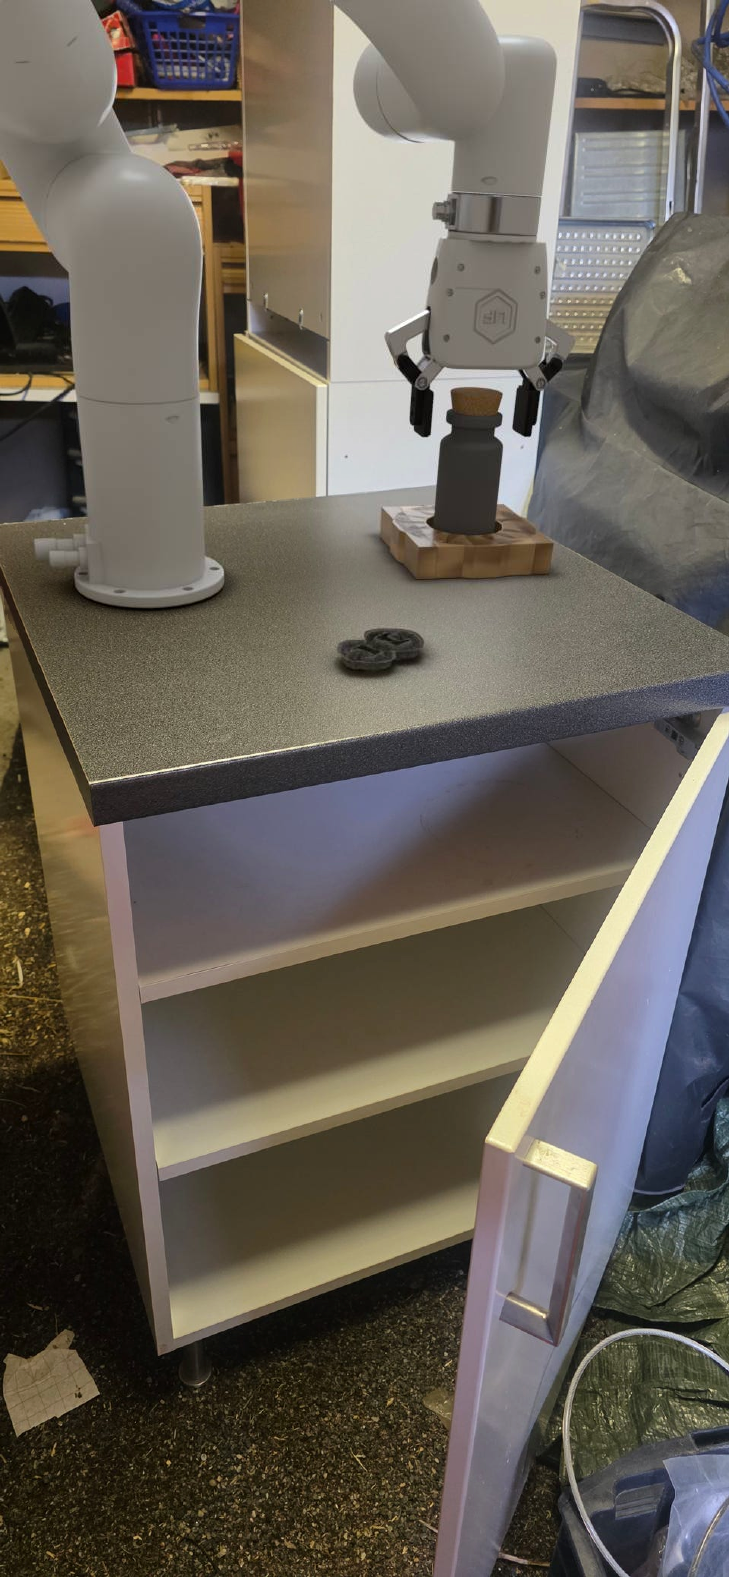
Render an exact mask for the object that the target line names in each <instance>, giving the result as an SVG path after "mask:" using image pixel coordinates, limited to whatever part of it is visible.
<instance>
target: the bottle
mask: <svg viewBox="0 0 729 1577" xmlns="http://www.w3.org/2000/svg"><path fill="white" fill-rule="evenodd" d="M503 396H504V393H503V392H502V391H500V390H498V389H493V388H489V387H479V386H478V387H477V386H459V387H454V388H452V389H451V390H450V401H451V408H449V409H447V411H446V413H445V414H446V415H445V422H446V423H447V424H448V425H450V426H451V429H450V433H448V434H446V435H444V436H443V437H442V438H441V440H440V443H439V450H438V451H439V452H438V465H437V476H436V487H435V500H434V505H435V511H434V524H433V529H436V530H438V531H441V532H446V533H451V534H456V535H467V536H474V535H488V534H493V533H494V529H495V520H496V511H497V504H498V501H499V491H500V481H501V473H502V464H503V453H504V452H503V451H504V443H503V442H502V441H501V440H500V439H499V438H498V437H497V436H495V432H496V428H500V427H501V426H502V425H503V419H504V418H503V416H504V415H503V414H502V413H501V412H500V411H499V410H500V405H501V403H502V399H503Z"/></svg>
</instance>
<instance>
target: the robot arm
mask: <svg viewBox="0 0 729 1577" xmlns="http://www.w3.org/2000/svg"><path fill="white" fill-rule="evenodd" d="M328 1H329V2H330V3H332V4H333V5H334V6H335V7H336V8H338V10H340V11H341V12H342V13H343V15H345V16H346V17H348V18H349V20H350V21H352V23H353V24H355V26H356V27H357V28H358V29H359V30H360V31H361V32H362V33H363V34H364V35H365V37H366V38H367V39H368V40H369V42H370V43H368V45H367V46H366V47H365V48H364V50H363V51H362V53H361V54H360V56H359V59H358V61H357V63H356V66H355V69H354V73H353V79H352V92H353V99H354V102H355V106H356V110H357V111H358V114H359V115H360V118H361V119H362V120H363V121H364V123H365V125H367V127H368V128H369V129H370V130H372V132H374V133H375V134H376V135H378V136H379V137H381V138H383V139H385V140H387V141H390V142H394V143H400V144H423V143H448V142H453V149H452V150H453V151H452V162H451V175H450V187H449V191H450V192H448V193H447V196H446V199H443V200H442V201H434V202H433V203H432V206H431V218H432V220H433V221H440V222H441V223H443V224H444V229H445V230H446V236H439V237H438V241H437V244H436V248H435V252H434V256H433V260H432V266H431V269H430V275H429V279H428V285H427V291H426V298H425V304H424V310H423V311H422V312H420V313H418V314H416V315H414V316H412V317H411V318H409V319H407V320H405V321H404V322H401V323H400V324H397V325H396V326H394V327H392V328H390V329H388V330H387V331H386V332H385V334H384V340H385V341H384V342H385V344H386V346H387V349H388V351H389V353H390V356H391V358H392V360H393V365H394V366H395V368H397V370H398V371H399V372H400V373H401V375H402V376H403V377H404V378H405V379H406V380H407V382H408V383H409V384H410V385H411V388H410V389H411V390H410V403H409V404H410V405H409V424H410V425H411V426H412V427H413V431H414V432H415V433H416V434H417V435H418V436H419V437H420V438H429V437H431V435H432V425H433V424H432V423H433V411H434V400H435V392H434V391H433V390H432V389H431V384H432V382H433V381H435V379H436V378H437V377H438V375H439V374H440V373H441V372H442V370H444V368H446V369H451V370H474V371H475V370H477V371H478V370H480V371H481V370H484V371H485V370H486V371H516V372H517V374H518V375H519V377H520V378H521V381H522V382H521V384H518V385H517V387H516V391H515V400H514V407H513V416H512V425H511V428H512V430H513V431H514V432H515V433H517V434H518V435H521V437H524V438H531V437H532V433H533V426H534V427H535V426H536V425H537V422H538V415H539V406H540V400H541V392H542V391H545V390H546V388H547V386H548V383H549V382H550V381H552V379H553V378H554V377H555V376H556V375H557V374H559V372H560V371H561V370H562V369H563V366H564V362H565V361H566V360H567V358H568V356H569V355H570V353H571V352H572V351H573V349H574V346H575V344H576V338H575V337H574V336H573V335H572V334H570V333H569V332H567V331H566V330H565V329H563V328H562V327H560V326H558V325H557V324H556V323H554V322H552V321H551V320H549V318H548V298H549V297H548V294H549V286H548V285H549V284H548V280H549V279H548V278H549V277H548V276H549V274H548V272H549V271H548V270H549V269H548V251H547V249H548V248H547V242H543V241H538V230H539V223H540V216H541V206H542V196H543V189H544V181H545V173H546V172H545V170H546V164H547V157H548V156H547V155H548V148H549V146H548V145H549V140H550V139H549V138H550V130H551V120H552V112H553V105H554V104H553V103H554V96H555V89H556V88H555V87H556V79H557V66H558V59H557V53H556V50H555V48H554V46H552V45H551V43H550V42H548V41H547V40H544V39H542V38H538V37H534V36H528V35H519V34H497V33H496V30H495V28H494V25H493V24H492V22H491V20H490V18H489V17H488V15H487V12H486V11H485V9H484V7H483V5H482V3H481V2H480V0H328ZM117 88H118V68H117V62H116V57H115V51H114V49H113V45H112V42H111V41H110V38H109V35H108V33H107V30H106V28H105V26H104V24H103V22H102V19H101V17H100V16H99V14H98V12H97V10H96V8H95V6H94V4H93V2H92V0H0V160H1V162H2V164H3V167H4V168H5V170H6V172H7V174H8V175H9V177H10V179H11V181H12V183H13V185H14V187H15V188H16V190H17V193H18V194H19V196H20V197H21V200H22V202H23V203H24V205H25V207H26V209H27V211H28V212H29V214H30V216H31V218H32V220H33V222H34V224H35V226H36V227H37V229H38V231H39V233H40V235H41V237H42V238H43V240H44V241H45V243H46V246H48V248H49V250H50V251H51V254H53V256H54V258H55V259H56V261H57V262H58V263H59V264H60V265H61V266H62V268H64V269H65V271H67V272H68V282H69V283H68V284H69V285H68V286H69V309H70V310H69V311H70V312H69V313H70V315H69V316H70V337H71V353H72V354H71V355H72V367H73V379H74V380H73V381H74V388H75V390H74V391H75V394H76V408H77V418H78V428H79V438H80V448H81V459H82V471H83V472H82V473H83V481H84V493H85V494H84V495H85V503H86V504H85V505H86V515H87V523H85V524H84V533H73V534H72V537H73V538H58V539H57V538H56V537H50V538H49V537H45V538H44V537H43V538H41V537H40V538H34V539H33V541H34V542H33V543H34V554H35V560H36V562H37V563H43V562H49V567H50V569H62V568H67V567H68V568H69V567H77V568H76V569H75V570H74V575H73V578H74V584H75V588H76V590H77V592H78V593H80V594H81V595H82V596H84V597H85V598H87V599H89V600H92V601H94V602H97V603H101V604H106V605H109V606H115V607H120V608H121V607H122V608H133V609H162V608H163V609H164V608H171V607H178V606H183V605H184V606H185V605H190V604H193V603H197V602H200V601H203V600H205V599H208V598H210V597H212V596H214V595H215V594H217V593H218V592H219V591H220V590H221V589H222V588H223V587H224V584H225V570H224V567H223V566H222V565H221V564H220V563H219V562H218V561H216V560H214V559H213V558H211V557H209V556H207V555H206V541H205V538H206V536H205V511H204V508H205V507H204V483H203V480H204V478H203V456H202V455H203V454H202V452H203V450H202V425H201V397H200V396H201V395H200V370H199V369H200V368H199V367H200V366H199V323H200V322H199V320H200V305H201V294H202V278H203V261H204V260H203V258H204V257H203V256H204V255H203V254H204V253H203V240H202V239H203V238H202V232H201V228H200V227H201V226H200V220H199V218H198V214H197V212H196V209H195V207H194V204H193V202H192V200H191V198H190V196H189V194H188V193H187V191H186V190H185V188H184V187H183V185H182V184H181V182H180V181H179V180H178V179H177V177H175V176H174V175H173V173H171V172H170V171H169V170H167V168H166V167H164V166H162V165H161V164H160V163H159V162H156V161H154V160H152V159H150V158H147V157H146V156H143V155H139V154H136V153H134V152H133V149H132V147H131V145H130V143H129V141H128V138H127V136H126V133H125V132H124V130H123V128H122V125H121V124H120V123H121V122H120V121H119V119H118V117H117V115H116V113H115V110H114V108H113V105H114V102H115V98H116V94H117ZM419 335H421V352H422V356H421V358H420V359H419V360H418V361H417V362H416V363H415V362H414V361H413V359H412V358H411V357H410V355H409V352H408V349H407V343H408V341H410V340H411V339H414V338H415V337H418V336H419ZM546 339H547V340H548V341H550V342H551V349H550V350H549V353H548V355H547V356H545V357H544V358H543V356H544V355H543V354H544V350H545V344H546Z"/></svg>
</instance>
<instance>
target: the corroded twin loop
mask: <svg viewBox="0 0 729 1577" xmlns="http://www.w3.org/2000/svg"><path fill="white" fill-rule="evenodd" d="M424 645H425V641H424V638H423V637H422V636H421V635H420V633H418V632H417V631H413V630H411V629H406V628H398V627H397V628H394V627H393V628H390V627H389V628H388V627H379V628H372V629H367V630H365V631H364V633H363V639H345V640H342V641H340V642H338V644H337V647H336V652H337V653H338V654H339V655H340V656H341V661H342V663H343V664H344V665H345V666H346V667H347V668H350V669H351V670H385V669H387V668H390V667H391V665H392V661H393V660H406V659H414V658H416V657H418V655H419V654H420V652H421V650H422V649H423V648H424Z"/></svg>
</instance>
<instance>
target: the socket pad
mask: <svg viewBox="0 0 729 1577" xmlns="http://www.w3.org/2000/svg"><path fill="white" fill-rule="evenodd" d="M434 511H435V504H427V505H426V504H425V505H400V506H396V505H395V506H381V508H380V525H379V526H380V527H379V528H380V529H379V531H380V532H379V537H380V538H381V540H382V541H383V542H384V543H385V544H386V545H387V547H388V548H389V553H390V554H391V555H392V556H393V558H394V559H395V560H396V561H397V562H398V563H400V564H403V565H404V567H405V568H406V569H407V570H408V571H409V572H410V574H411V575H412V576H413V577H414V579H416V580H432V579H433V580H434V579H454V578H455V579H456V578H457V579H459V578H464V579H488V578H502V577H503V578H504V577H506V576H527V575H528V576H530V575H550V573H551V567H552V566H551V565H552V559H553V553H554V552H553V551H554V544H555V543H554V541H553V540H551V539H550V538H548V537H547V536H546V535H545V534H543V533H542V532H541V531H539V530H538V529H537V526H536V525H535V524H534V523H532V521H530V520H529V519H528V518H526V517H523V516H521V515H519V514H517V512H515V511H513V510H512V509H511V508H509V507H508V506H507V505H505V504H504V503H497V511H496V520H495V529H494V533H493V534H488V535H474V536H467V535H456V534H451V533H446V532H441V531H438V530H436V529H433V524H434Z"/></svg>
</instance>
